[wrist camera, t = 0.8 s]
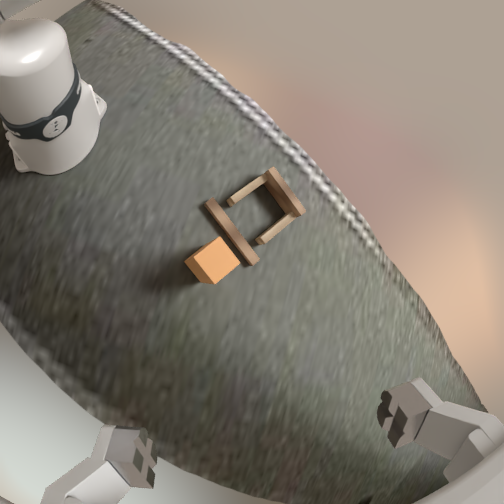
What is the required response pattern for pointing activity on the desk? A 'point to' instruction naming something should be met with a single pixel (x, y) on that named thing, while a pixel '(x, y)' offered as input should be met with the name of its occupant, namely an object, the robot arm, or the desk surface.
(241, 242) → the door edge strip
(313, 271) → the desk surface
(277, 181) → the index bracket
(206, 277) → the block
